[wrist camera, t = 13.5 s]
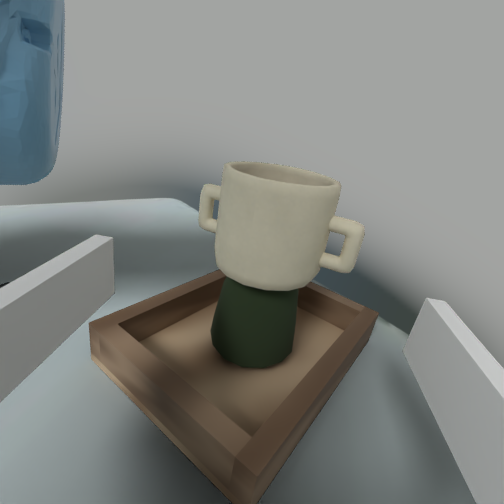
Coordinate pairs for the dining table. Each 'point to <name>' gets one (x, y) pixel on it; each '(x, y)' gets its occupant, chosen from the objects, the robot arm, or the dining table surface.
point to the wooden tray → (229, 378)
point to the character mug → (270, 253)
